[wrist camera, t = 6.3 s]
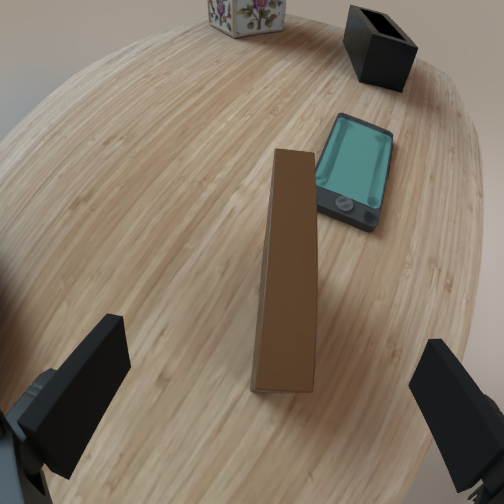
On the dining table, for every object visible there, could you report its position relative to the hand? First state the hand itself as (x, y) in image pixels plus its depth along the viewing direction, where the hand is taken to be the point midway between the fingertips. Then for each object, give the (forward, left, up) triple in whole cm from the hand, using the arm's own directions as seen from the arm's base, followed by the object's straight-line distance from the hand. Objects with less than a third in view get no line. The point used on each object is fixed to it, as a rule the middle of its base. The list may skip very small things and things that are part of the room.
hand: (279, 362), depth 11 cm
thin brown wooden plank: (+4, 0, -10) cm, 11 cm away
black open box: (+50, -13, -10) cm, 53 cm away
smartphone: (+21, -7, -10) cm, 24 cm away
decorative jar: (+60, +11, -10) cm, 62 cm away
